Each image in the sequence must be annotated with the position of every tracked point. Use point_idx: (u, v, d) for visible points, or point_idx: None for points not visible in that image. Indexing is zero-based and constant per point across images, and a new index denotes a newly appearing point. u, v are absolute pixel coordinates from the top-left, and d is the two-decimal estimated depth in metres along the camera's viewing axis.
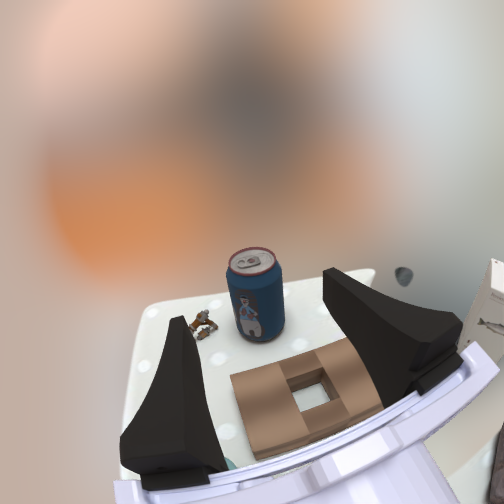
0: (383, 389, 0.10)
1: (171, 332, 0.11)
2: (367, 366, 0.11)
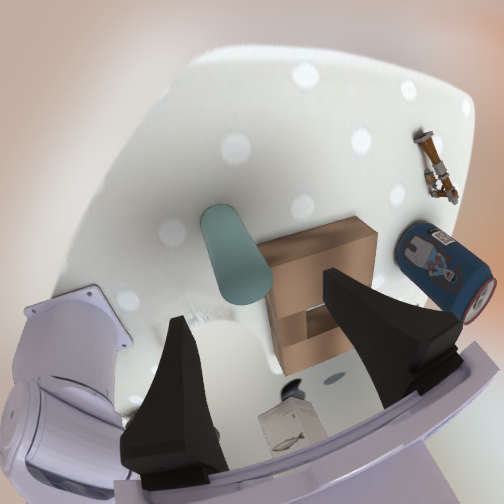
0: (383, 389, 0.10)
1: (171, 332, 0.11)
2: (367, 366, 0.11)
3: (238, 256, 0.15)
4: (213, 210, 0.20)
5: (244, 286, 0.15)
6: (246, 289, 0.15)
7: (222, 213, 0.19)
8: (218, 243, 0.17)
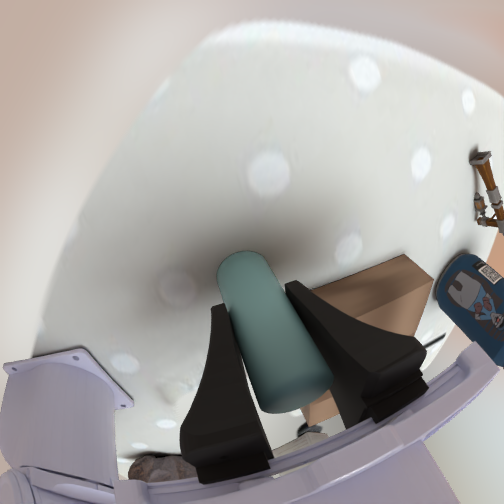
0: (343, 410, 0.10)
1: (216, 319, 0.12)
2: None
3: (289, 363, 0.09)
4: (236, 262, 0.14)
5: (294, 397, 0.09)
6: (295, 398, 0.10)
7: (250, 269, 0.14)
8: (251, 329, 0.11)
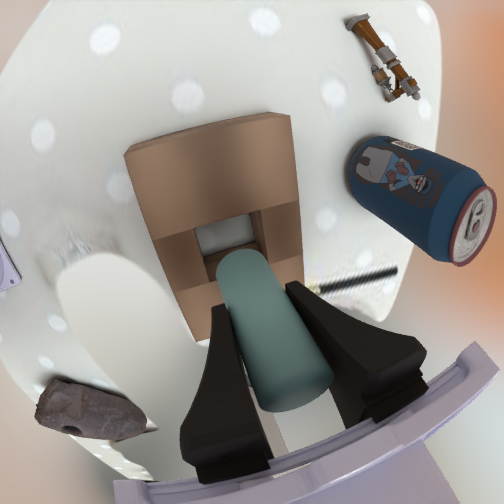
0: (343, 410, 0.10)
1: (216, 319, 0.12)
2: None
3: (286, 361, 0.09)
4: (233, 261, 0.14)
5: (294, 395, 0.09)
6: (296, 397, 0.09)
7: (248, 267, 0.14)
8: (249, 328, 0.11)
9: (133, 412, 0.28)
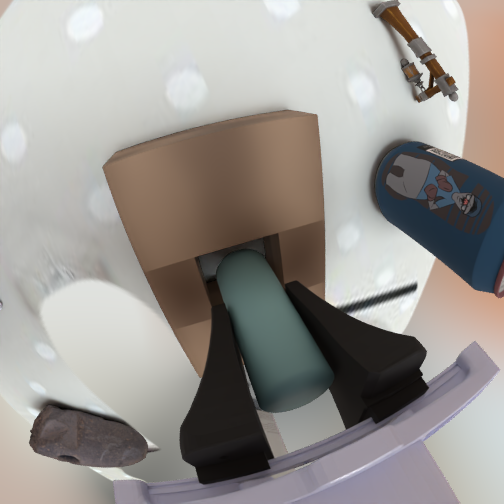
0: (343, 410, 0.10)
1: (216, 319, 0.12)
2: None
3: (286, 362, 0.09)
4: (234, 261, 0.14)
5: (294, 395, 0.09)
6: (296, 397, 0.09)
7: (248, 268, 0.14)
8: (249, 328, 0.11)
9: (133, 439, 0.25)
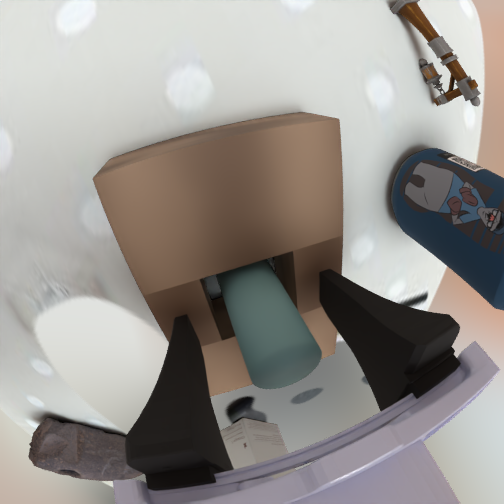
0: (379, 391, 0.10)
1: (175, 331, 0.11)
2: (363, 368, 0.11)
3: (275, 336, 0.10)
4: None
5: (284, 371, 0.10)
6: (286, 373, 0.10)
7: None
8: (242, 307, 0.12)
9: None
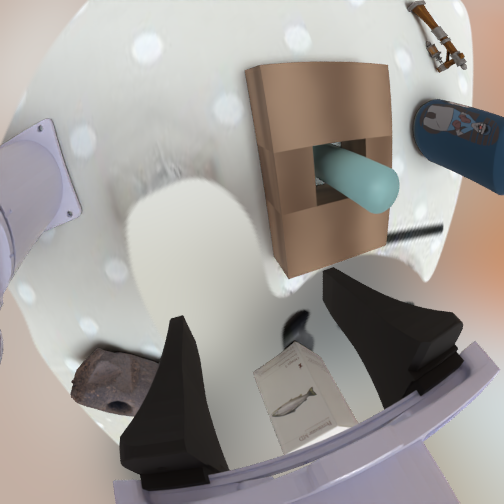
0: (383, 389, 0.10)
1: (171, 332, 0.11)
2: (367, 366, 0.11)
3: (375, 165, 0.15)
4: None
5: (380, 193, 0.15)
6: (380, 196, 0.15)
7: (330, 144, 0.19)
8: (344, 161, 0.17)
9: None
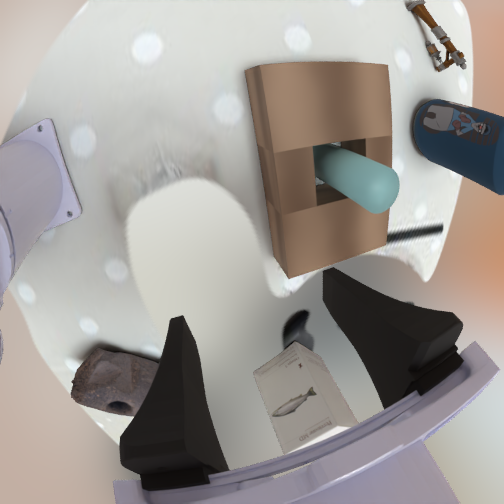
0: (383, 389, 0.10)
1: (171, 332, 0.11)
2: (367, 366, 0.11)
3: (375, 164, 0.15)
4: None
5: (380, 193, 0.15)
6: (380, 196, 0.15)
7: (330, 144, 0.19)
8: (344, 160, 0.17)
9: None
